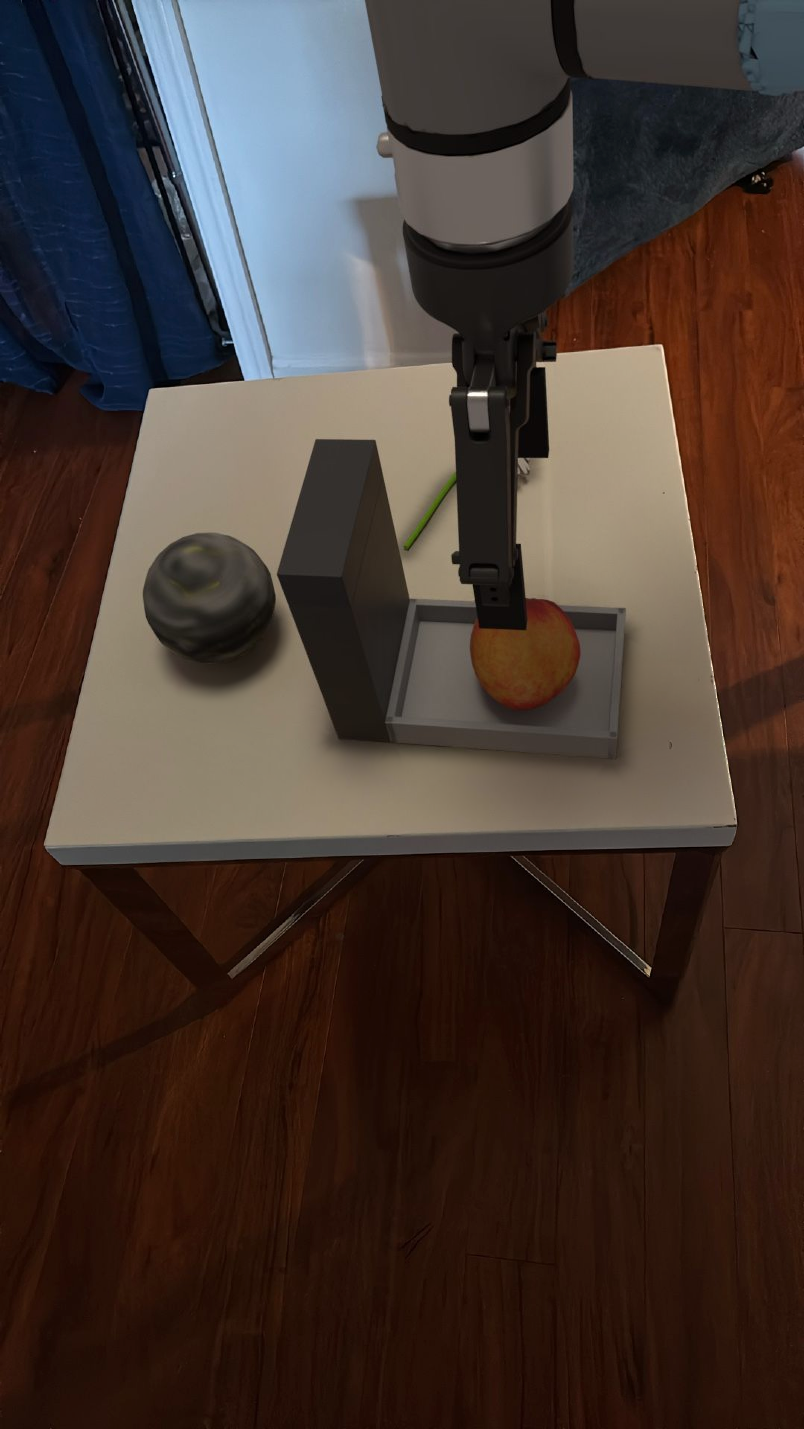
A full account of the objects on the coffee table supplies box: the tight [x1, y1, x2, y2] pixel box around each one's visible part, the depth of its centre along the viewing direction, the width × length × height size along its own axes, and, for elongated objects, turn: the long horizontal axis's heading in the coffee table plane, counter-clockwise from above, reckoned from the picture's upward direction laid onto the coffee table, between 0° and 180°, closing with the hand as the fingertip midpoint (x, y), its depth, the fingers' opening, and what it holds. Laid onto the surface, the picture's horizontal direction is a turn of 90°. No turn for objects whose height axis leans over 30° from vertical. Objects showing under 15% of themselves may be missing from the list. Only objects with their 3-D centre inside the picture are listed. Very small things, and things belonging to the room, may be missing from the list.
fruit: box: [470, 597, 581, 710], centre depth 73 cm, size 8×8×8 cm
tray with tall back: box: [276, 438, 627, 760], centre depth 70 cm, size 20×11×19 cm, turn 80°
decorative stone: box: [142, 532, 277, 665], centre depth 79 cm, size 10×10×10 cm
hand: (516, 534), depth 63 cm, fingers open, 13 cm apart
